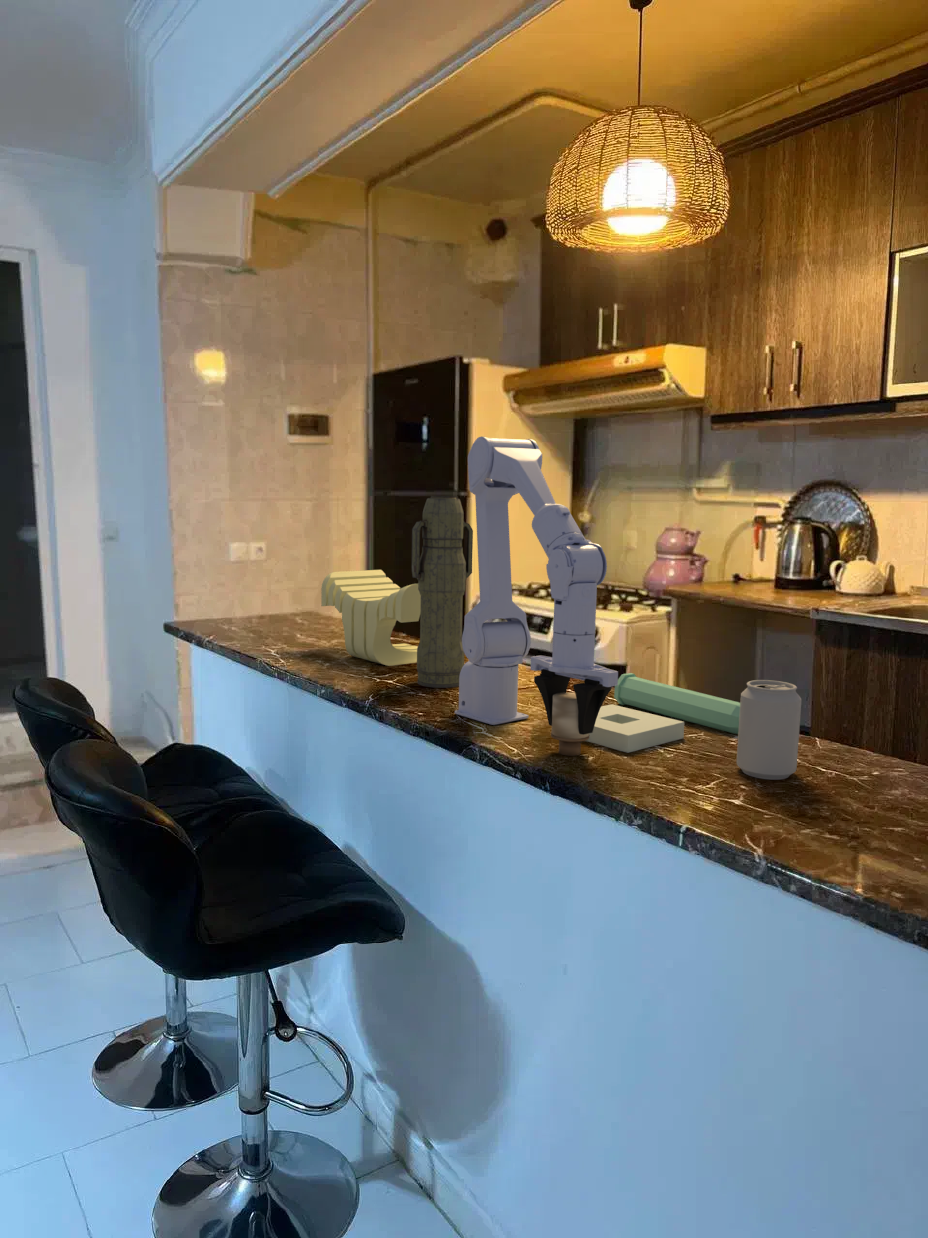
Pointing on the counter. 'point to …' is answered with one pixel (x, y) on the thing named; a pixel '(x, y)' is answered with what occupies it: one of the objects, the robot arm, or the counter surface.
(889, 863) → the counter surface
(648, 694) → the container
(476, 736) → the counter surface
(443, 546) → the thermos
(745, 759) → the can
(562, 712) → the peg
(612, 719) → the board
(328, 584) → the slatted curved stool
